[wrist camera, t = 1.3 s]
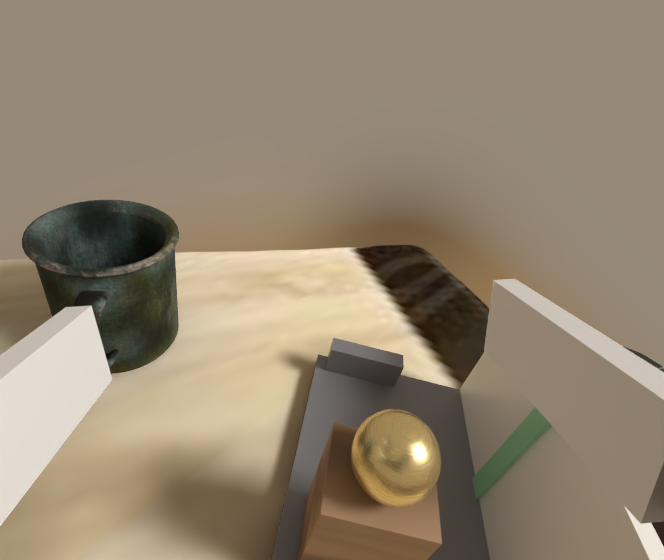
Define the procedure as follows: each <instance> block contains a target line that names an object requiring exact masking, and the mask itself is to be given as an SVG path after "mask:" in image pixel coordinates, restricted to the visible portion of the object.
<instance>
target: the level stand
mask: <svg viewBox="0 0 664 560" xmlns="http://www.w3.org/2000/svg"><path fill="white" fill-rule="evenodd" d="M402 370H403V355H400V354H396V353H392V352H388V351H384V350H380V349H376V348H372V347H368V346H364V345H360V344H356V343H352V342H348V341H344V340H340V339H336V338H333V342H332V345H331V348H330V352H329V355H328V357H326V356H322V355H318V358H317V362H316V365H315V370H314V374H313V379H312V383H311V387H310V392H309V396H308V401H307V405H306V409H305V414H304V418H303V423H302V427H301V432H300V436H299V440H298V445H297V449H296V454H295V458H294V462H293V467H292V471H291V476H290V480H289V484H288V489H287V493H286V498H285V502H284V506H283V511H282V515H281V520H280V524H279V529H278V533H277V537H276V542H275V546H274V551H273V555H272V559H271V560H296V559H297V554H298V548H299V543H300V537H301V532H302V526H303V520H304V515H305V509H306V504H307V498H308V493H309V490H310V487H311V484H312V482H313V479H314V476H315V473H316V471H317V468H318V465H319V462H320V460H321V457H322V454H323V451H324V449H325V446H326V443H327V440H328V438H329V435H330V432H331V429H332V427H333V424H334V422H335V423H339V424H343V425H347V426H351V427H355V428H359V427H360V425H361V424H362V423H363V422H364V421H365V420H366V419H367V418H368V417H370V416H371V415H373V414H375V413H377V412H379V411H382V410H387V409H399V410H404V411H407V412H409V413H412V414H413V415H415V416H417V417H418V418H420V419H421V420H422V421H423V422H424V423H425V424H426V425H427V426H428V427H429V428H430V429H431V431H432V432H433V434H434V436H435V438H436V440H437V442H438V445H439V449H440V454H441V470H440V475H439V478H438V481H437V494H438V505H439V515H440V526H441V537H442V545H441V546H440V547H439V548H438V549H437V550H436V551H435V552H434V553H433V554H432V555H431V556H430V557H429V558H428V559H427V560H664V547H663V545H662V543H661V541H660V539H659V537H658V535H657V533H656V531H655V530H654V528H653V526H652V524H651V523H643V524H640V522H639V521H638V520H637V519H636V518H635V517H634V516H633V515H632V514H631V512H630V511H629V510H628V509H627V508H626V507H625V506H624V505H623V504H622V502H621V501H620V500H619V499H618V498H617V497H616V496H615V495H614V494H613V493H612V491H611V490H610V489H609V488H608V487H607V486H606V485H605V484H604V483H603V481H602V480H601V479H600V478H599V477H598V476H597V475H596V474H595V473H594V471H593V470H592V469H591V468H590V467H589V466H588V465H587V464H586V463H585V462H584V460H583V459H582V458H581V457H580V456H579V455H578V454H577V453H576V452H575V450H574V449H573V448H572V447H571V446H570V445H569V444H568V443H567V442H566V440H565V439H564V438H563V437H562V436H561V435H560V434H559V433H558V432H557V431H556V429H555V428H554V427H553V426H552V425H551V424H550V423H549V422H548V421H547V419H546V418H545V417H544V416H543V415H542V414H541V413H540V412H539V411H538V409H537V408H536V407H535V406H534V405H533V404H532V403H531V402H530V401H529V400H528V398H527V397H526V396H525V395H524V394H523V393H522V392H521V391H520V390H519V388H518V387H517V386H516V385H515V384H514V383H513V382H512V381H511V380H510V378H509V377H508V376H507V375H506V374H505V373H504V372H503V371H502V370H501V369H500V367H499V366H498V365H497V364H496V363H495V362H494V361H493V360H492V359H491V357H490V356H489V355H488V354H487V353H486V352H484V353H483V355H482V357H481V358H480V360H479V361H478V363H477V364H476V366H475V367H474V369H473V370H472V372H471V373H470V375H469V376H468V378H467V379H466V381H465V383H464V384H463V386H462V387H461V389H460V390H458V389H454V388H450V387H446V386H442V385H438V384H434V383H430V382H426V381H422V380H418V379H414V378H410V377H406V376H402V375H400V374H401V372H402Z"/></svg>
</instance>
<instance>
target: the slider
mask: <svg viewBox="0 0 664 560" xmlns="http://www.w3.org/2000/svg"><path fill="white" fill-rule="evenodd" d="M440 470H441V454H440V449H439V445H438V442H437V440H436V438H435V436H434V434H433V432H432V431H431V429H430V428H429V427H428V426H427V425H426V424H425V423H424V422H423V421H422V420H421V419H420V418H418V417H417V416H415V415H413V414H412V413H409V412H407V411H404V410H399V409H387V410H382V411H379V412H377V413H375V414H373V415H371V416H370V417H368V418H367V419H366V420H365V421H364V422H363V423H362V424H361V425H360V427H359V428H355V427H351V426H347V425H343V424H339V423H335V422H334V424H333V427H332V429H331V432H330V435H329V438H328V440H327V443H326V446H325V449H324V451H323V454H322V457H321V460H320V462H319V465H318V468H317V471H316V473H315V476H314V479H313V482H312V484H311V487H310V490H309V493H308V498H307V504H306V509H305V515H304V520H303V526H302V532H301V537H300V543H299V548H298V554H297V559H296V560H427V559H428V558H429V557H430V556H431V555H432V554H433V553H434V552H435V551H436V550H437V549H438V548H439V547H440V546H441V545H442V537H441V526H440V515H439V505H438V494H437V481H438V478H439V475H440Z"/></svg>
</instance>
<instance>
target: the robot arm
mask: <svg viewBox="0 0 664 560" xmlns="http://www.w3.org/2000/svg"><path fill="white" fill-rule="evenodd" d="M484 351H485V352H486V353H487V354H488V355H489V356H490V357H491V359H492V360H493V361H494V362H495V363H496V364H497V365H498V366H499V367H500V369H501V370H502V371H503V372H504V373H505V374H506V375H507V376H508V377H509V378H510V380H511V381H512V382H513V383H514V384H515V385H516V386H517V387H518V388H519V390H520V391H521V392H522V393H523V394H524V395H525V396H526V397H527V398H528V400H529V401H530V402H531V403H532V404H533V405H534V406H535V407H536V408H537V409H538V411H539V412H540V413H541V414H542V415H543V416H544V417H545V418H546V419H547V421H548V422H549V423H550V424H551V425H552V426H553V427H554V428H555V429H556V431H557V432H558V433H559V434H560V435H561V436H562V437H563V438H564V439H565V440H566V442H567V443H568V444H569V445H570V446H571V447H572V448H573V449H574V450H575V452H576V453H577V454H578V455H579V456H580V457H581V458H582V459H583V460H584V462H585V463H586V464H587V465H588V466H589V467H590V468H591V469H592V470H593V471H594V473H595V474H596V475H597V476H598V477H599V478H600V479H601V480H602V481H603V483H604V484H605V485H606V486H607V487H608V488H609V489H610V490H611V491H612V493H613V494H614V495H615V496H616V497H617V498H618V499H619V500H620V501H621V502H622V504H623V505H624V506H625V507H626V508H627V509H628V510H629V511H630V512H631V514H632V515H633V516H634V517H635V518H636V519H637V520H638V521H639V522H640V524H643V523H651V522H659V521H664V369H663V368H662V366H661V365H659V364H658V363H656V362H654V361H653V360H651V359H649V358H648V357H646V356H644V355H643V354H641V353H638V352H636V351H633V350H631V349H628V348H626V347H623V346H621V345H619V344H618V343H616V342H615V341H613V340H611V339H610V338H608V337H607V336H605V335H603V334H602V333H600V332H599V331H597V330H595V329H594V328H592V327H591V326H589V325H587V324H586V323H584V322H583V321H581V320H580V319H578V318H576V317H575V316H573V315H572V314H570V313H568V312H567V311H565V310H564V309H562V308H560V307H559V306H557V305H556V304H554V303H553V302H551V301H549V300H548V299H546V298H544V297H543V296H541V295H540V294H538V293H537V292H535V291H533V290H532V289H530V288H529V287H527V286H525V285H524V284H522V283H520V282H519V281H517V280H516V279H505V280H494V281H493V287H492V295H491V303H490V310H489V317H488V325H487V333H486V340H485V348H484ZM111 381H112V376H111V373H110V369H109V366H108V362H107V359H106V355H105V352H104V348H103V344H102V341H101V337H100V334H99V330H98V327H97V323H96V320H95V316H94V313H93V309H92V306H77V307H65V308H64V309H63V310H61V311H60V312H59V313H57V314H56V315H54V316H53V317H52V318H50V319H49V320H48V321H46V322H45V323H43V324H42V325H41V326H39V327H38V328H37V329H35V330H34V331H32V332H31V333H30V334H28V335H27V336H26V337H24V338H23V339H21V340H20V341H19V342H17V343H16V344H15V345H13V346H12V347H11V348H9V349H8V350H6V351H5V352H4V353H2V354H1V355H0V526H1V525H2V523H3V522H4V521H5V519H6V518H7V517H8V515H9V514H10V513H11V511H12V510H13V509H14V508H15V506H16V505H17V504H18V502H19V501H20V500H21V498H22V497H23V496H24V494H25V493H26V492H27V491H28V489H29V488H30V487H31V485H32V484H33V483H34V481H35V480H36V479H37V477H38V476H39V475H40V474H41V472H42V471H43V470H44V468H45V467H46V466H47V464H48V463H49V462H50V460H51V459H52V458H53V456H54V455H55V454H56V453H57V451H58V450H59V449H60V447H61V446H62V445H63V443H64V442H65V441H66V439H67V438H68V437H69V436H70V434H71V433H72V432H73V430H74V429H75V428H76V426H77V425H78V424H79V422H80V421H81V420H82V419H83V417H84V416H85V415H86V413H87V412H88V411H89V409H90V408H91V407H92V405H93V404H94V403H95V401H96V400H97V399H98V398H99V396H100V395H101V394H102V392H103V391H104V390H105V388H106V387H107V386H108V384H109V383H110V382H111Z"/></svg>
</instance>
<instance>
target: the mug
mask: <svg viewBox="0 0 664 560" xmlns="http://www.w3.org/2000/svg"><path fill="white" fill-rule="evenodd" d="M178 239H179V231H178V227H177V225H176V224H175V222H174V221H173V220H172V218H171V217H170V216H168V215H167V214H165V213H164V212H162V211H160V210H158V209H156V208H153V207H151V206H147V205H144V204H141V203H136V202H130V201H122V200H95V201H86V202H79V203H75V204H70V205H66V206H63V207H60V208H57V209H55V210H52V211H50V212H48V213H46V214H44V215H42V216H40V217H39V218H37V219H36V220H34V221H33V222H32V223H31V224H30V225H29V226H28V227H27V229H26V230H25V232H24V234H23V238H22V247H23V249H24V252H25V254H26V255H27V256H28V257H29V258H30V259H31V260H32V261H33V262H34V263H35V264H36V267H37V270H38V273H39V276H40V279H41V282H42V285H43V289H44V292H45V295H46V298H47V301H48V304H49V307H50V310H51V313H52V317H53V316H54V315H56V314H57V313H59V312H60V311H61V310H63V309H64V308H65V307H77V306H92V309H93V313H94V316H95V320H96V323H97V327H98V330H99V334H100V337H101V341H102V344H103V348H104V352H105V355H106V359H107V362H108V366H109V369H110V373H116V372H124V371H129V370H133V369H136V368H139V367H142V366H144V365H146V364H148V363H150V362H152V361H154V360H155V359H157V358H158V357H159V356H161V355H162V354H163V353H164V352H165V351H166V350H167V349H168V348H169V347H170V345H171V344H172V343H173V341H174V340H175V338H176V335H177V332H178V307H177V288H176V268H175V250H174V248H175V246H176V245H177V242H178Z"/></svg>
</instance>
